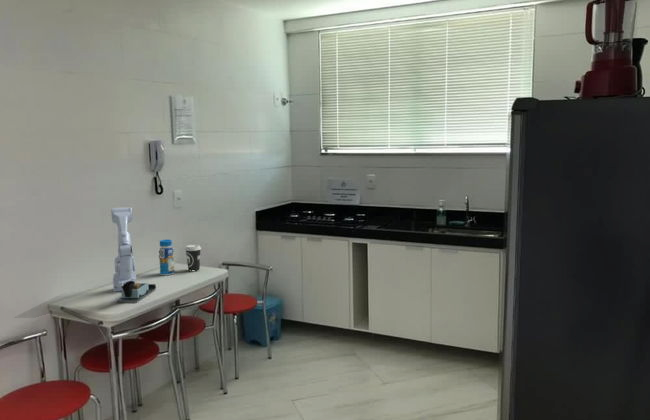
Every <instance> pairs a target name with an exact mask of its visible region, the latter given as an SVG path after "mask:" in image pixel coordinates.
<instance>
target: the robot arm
mask: <svg viewBox="0 0 650 420" xmlns="http://www.w3.org/2000/svg"><path fill="white" fill-rule="evenodd" d="M110 211H111V213H110V214H111V215H110V216H111V221H112V223H113V224H115V225H116V226H117V229H118V235H117V241H118V242H117V244H118V246H117V256H115V259H114V274H113V275H112V276H113V277H112V284H113V290H112V291H113V292H121V290H122V289H123V291H124V293H125V296H126V297H131V293H132V288H133V286H134V283H136V282H135V280H136V279H137V275H136V274H134V272H135V271H136V261H135V257H134V256H133V255H134V249H133V244H132V241H131V233H129V232H128V224H129V223H131V222H132V220H133V209H132V207H131V206H129V207H127V206H125V207H112V208H111V209H110Z"/></svg>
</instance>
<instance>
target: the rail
mask: <svg viewBox="0 0 650 420" xmlns="http://www.w3.org/2000/svg"><path fill="white" fill-rule="evenodd" d="M148 288H149V292H146V293H145V294H143V295H142V297H139V298H122V297H120V298H119V299H117V300H116V303H117V304H122V303H124V304H137V303H139V302H140V301H141V300H143V299H145V298H146V297H148V296H149V295H150V294H152V293H153V292H155V291H156V290H157V286H156V284H155V283H148Z"/></svg>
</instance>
